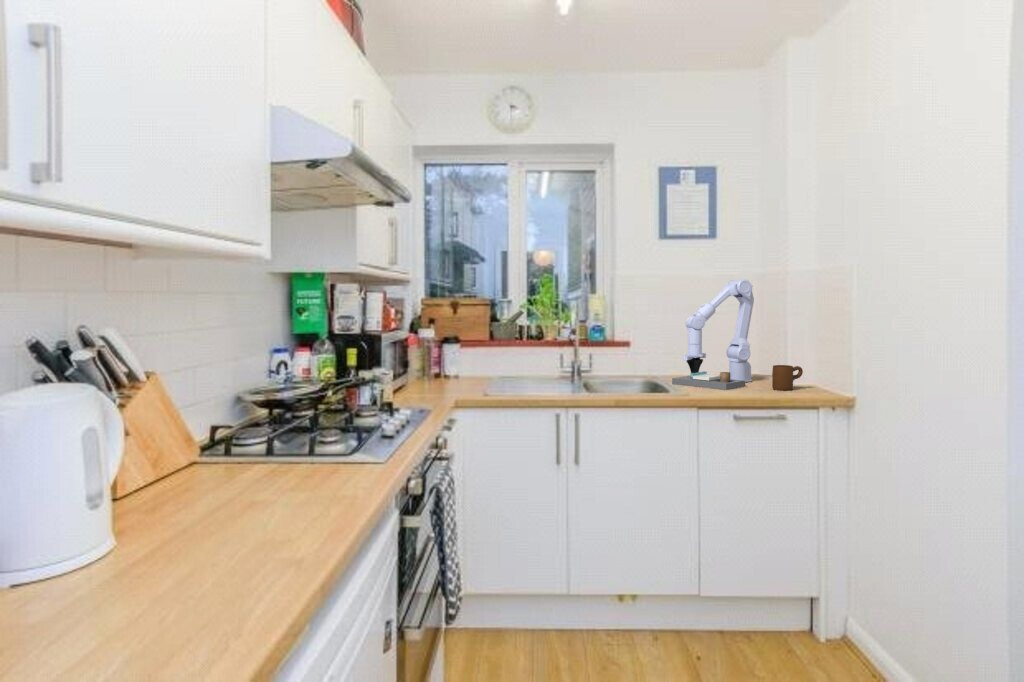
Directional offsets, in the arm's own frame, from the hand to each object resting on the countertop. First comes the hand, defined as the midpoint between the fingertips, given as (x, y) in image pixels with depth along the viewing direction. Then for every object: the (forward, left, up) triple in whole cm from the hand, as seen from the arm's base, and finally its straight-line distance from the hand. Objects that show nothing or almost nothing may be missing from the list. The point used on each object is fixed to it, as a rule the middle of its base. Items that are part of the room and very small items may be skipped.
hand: (694, 375), depth 273 cm
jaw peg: (0, +15, -3) cm, 15 cm away
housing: (0, +7, -3) cm, 7 cm away
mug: (-11, +36, -4) cm, 37 cm away
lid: (0, +6, -1) cm, 6 cm away
